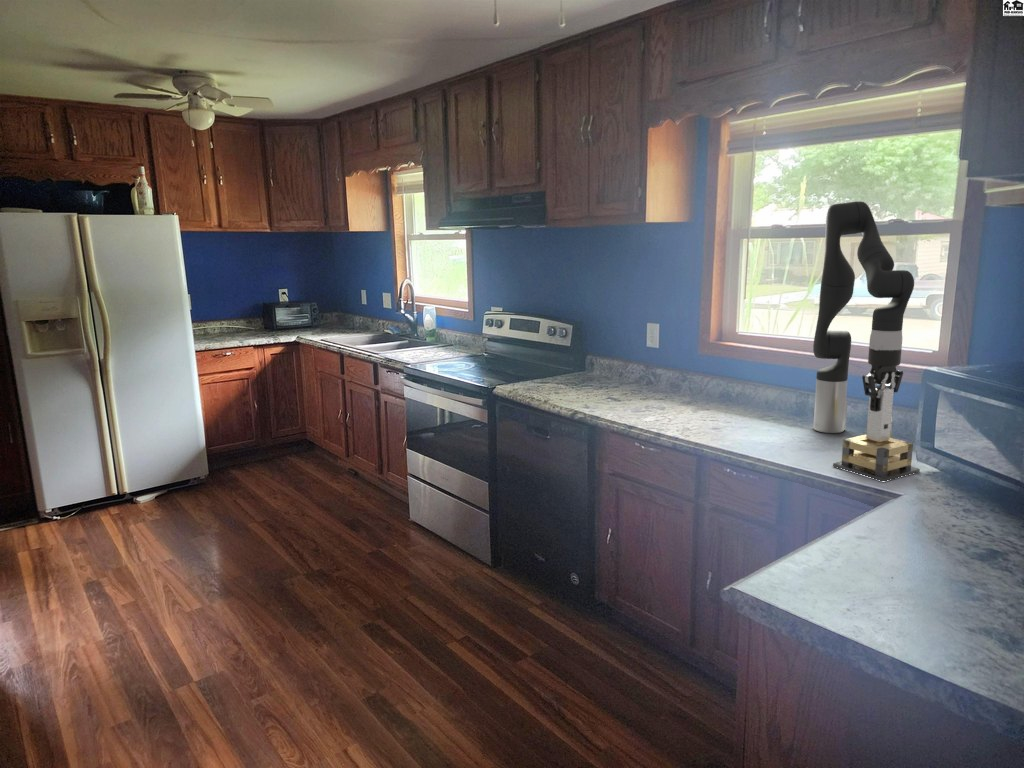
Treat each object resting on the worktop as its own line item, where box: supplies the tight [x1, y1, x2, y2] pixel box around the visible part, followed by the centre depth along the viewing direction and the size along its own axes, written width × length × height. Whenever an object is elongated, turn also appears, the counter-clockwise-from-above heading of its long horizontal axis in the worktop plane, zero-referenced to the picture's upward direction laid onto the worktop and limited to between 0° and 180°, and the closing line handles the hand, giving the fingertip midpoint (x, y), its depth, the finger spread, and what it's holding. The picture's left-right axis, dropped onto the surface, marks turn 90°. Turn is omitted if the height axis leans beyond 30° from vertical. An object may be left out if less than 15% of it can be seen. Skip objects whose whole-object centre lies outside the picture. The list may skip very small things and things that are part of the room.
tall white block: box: [865, 387, 895, 442], centre depth 178 cm, size 4×4×14 cm
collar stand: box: [832, 434, 921, 482], centre depth 180 cm, size 15×15×8 cm
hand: (880, 409), depth 178 cm, fingers closed on tall white block, 4 cm apart
